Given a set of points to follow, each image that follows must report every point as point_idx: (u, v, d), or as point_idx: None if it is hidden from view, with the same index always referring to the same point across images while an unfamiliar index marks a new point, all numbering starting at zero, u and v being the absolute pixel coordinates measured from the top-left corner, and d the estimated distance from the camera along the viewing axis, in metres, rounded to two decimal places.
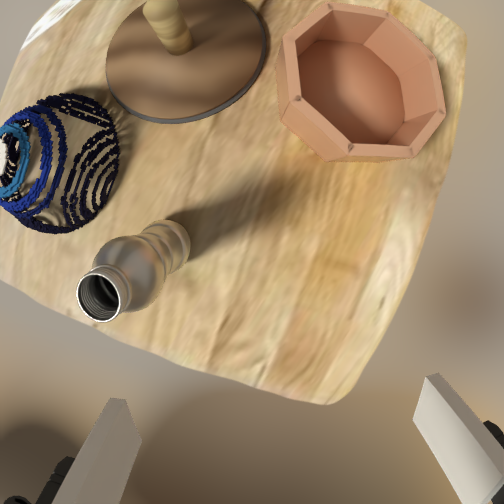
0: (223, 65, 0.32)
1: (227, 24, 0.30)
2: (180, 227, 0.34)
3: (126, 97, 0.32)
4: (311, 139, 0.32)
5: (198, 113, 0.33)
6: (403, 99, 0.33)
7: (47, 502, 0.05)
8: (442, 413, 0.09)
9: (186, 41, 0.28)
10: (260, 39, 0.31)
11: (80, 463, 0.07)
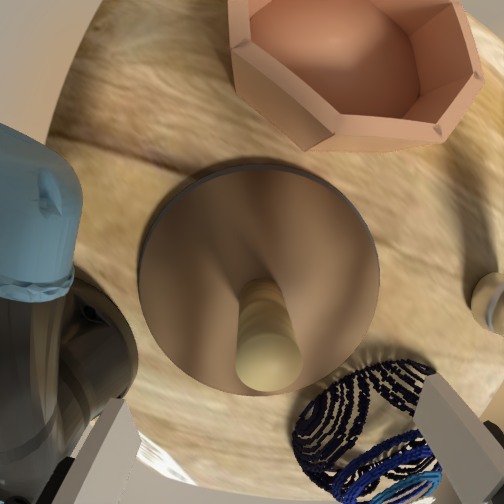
0: (309, 230, 0.24)
1: (227, 225, 0.24)
2: (490, 284, 0.24)
3: (332, 362, 0.27)
4: None
5: (377, 265, 0.25)
6: None
7: (47, 502, 0.05)
8: (442, 413, 0.09)
9: (277, 293, 0.22)
10: (259, 171, 0.23)
11: (80, 463, 0.07)
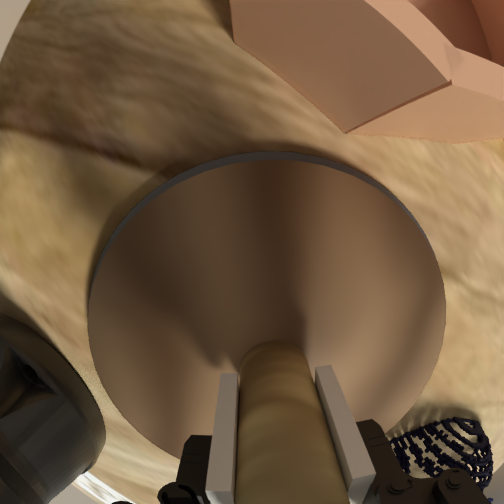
0: (355, 265, 0.14)
1: (218, 256, 0.14)
2: None
3: None
4: None
5: (443, 311, 0.15)
6: None
7: None
8: (323, 404, 0.11)
9: (303, 374, 0.12)
10: (274, 163, 0.13)
11: (220, 435, 0.09)
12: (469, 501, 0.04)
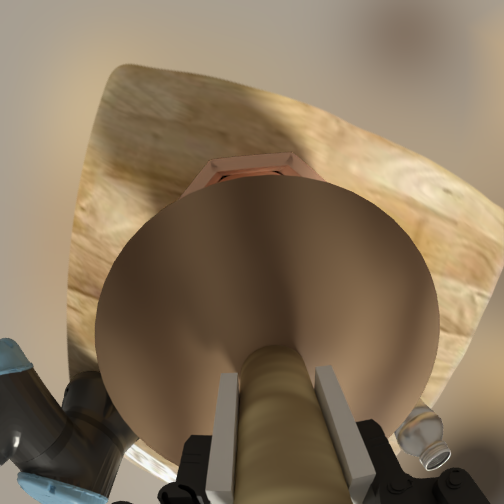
0: (339, 265, 0.15)
1: (210, 269, 0.15)
2: None
3: None
4: None
5: (435, 302, 0.15)
6: (252, 172, 0.34)
7: None
8: (323, 404, 0.11)
9: (298, 372, 0.13)
10: (253, 179, 0.14)
11: (220, 435, 0.09)
12: (469, 501, 0.04)
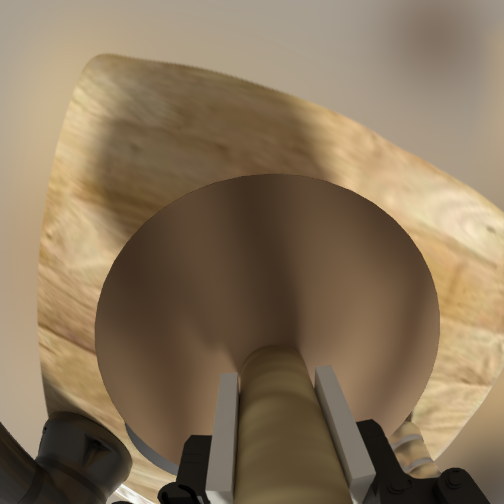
0: (339, 265, 0.15)
1: (210, 269, 0.15)
2: (390, 437, 0.30)
3: None
4: None
5: (436, 301, 0.15)
6: None
7: None
8: (323, 404, 0.11)
9: (299, 372, 0.13)
10: (252, 179, 0.14)
11: (220, 435, 0.09)
12: (469, 501, 0.04)
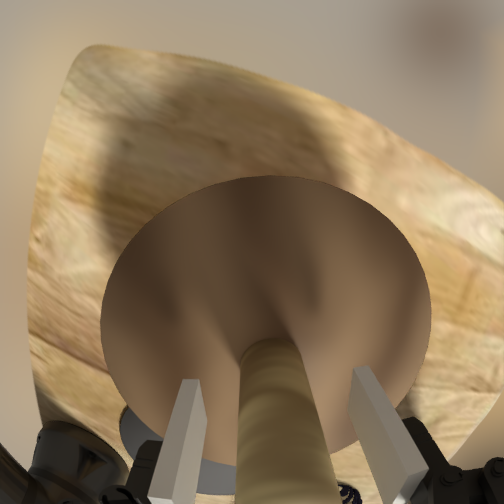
0: (335, 264, 0.15)
1: (210, 268, 0.15)
2: None
3: None
4: None
5: (428, 298, 0.16)
6: None
7: (136, 488, 0.07)
8: (364, 404, 0.11)
9: (294, 366, 0.14)
10: (251, 180, 0.15)
11: (171, 442, 0.09)
12: None
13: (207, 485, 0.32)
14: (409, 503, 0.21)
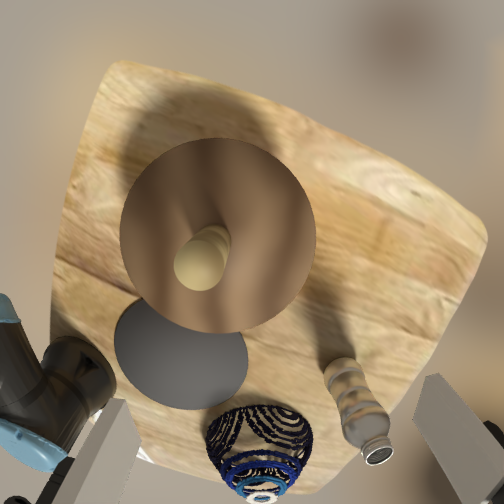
0: (247, 182, 0.30)
1: (183, 183, 0.30)
2: (333, 368, 0.42)
3: (283, 299, 0.32)
4: None
5: (311, 209, 0.31)
6: None
7: (47, 502, 0.05)
8: (442, 413, 0.09)
9: (221, 230, 0.28)
10: (205, 140, 0.29)
11: (80, 463, 0.07)
12: None
13: (178, 396, 0.46)
14: (340, 411, 0.35)
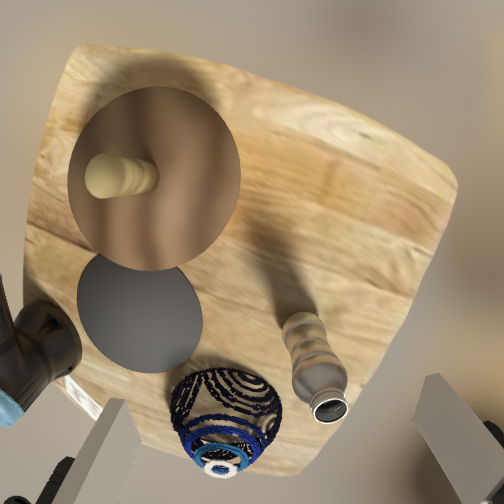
0: (172, 121, 0.30)
1: (118, 129, 0.30)
2: (289, 321, 0.42)
3: (212, 231, 0.32)
4: None
5: None
6: None
7: (47, 502, 0.05)
8: (442, 413, 0.09)
9: (144, 161, 0.28)
10: (137, 90, 0.29)
11: (80, 463, 0.07)
12: None
13: (138, 358, 0.46)
14: (292, 364, 0.35)
